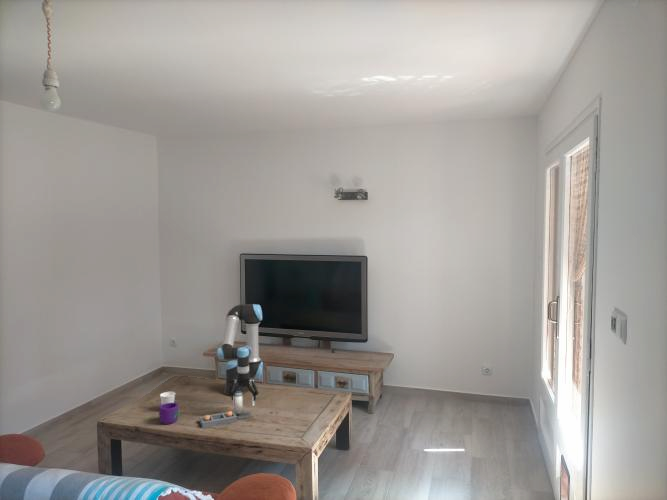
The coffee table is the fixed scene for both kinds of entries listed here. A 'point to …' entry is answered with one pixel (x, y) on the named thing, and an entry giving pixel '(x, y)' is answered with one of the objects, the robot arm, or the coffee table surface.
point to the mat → (243, 415)
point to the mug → (168, 413)
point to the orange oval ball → (229, 414)
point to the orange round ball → (206, 417)
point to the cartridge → (238, 402)
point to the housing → (218, 419)
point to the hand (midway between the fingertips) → (243, 405)
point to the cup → (167, 397)
